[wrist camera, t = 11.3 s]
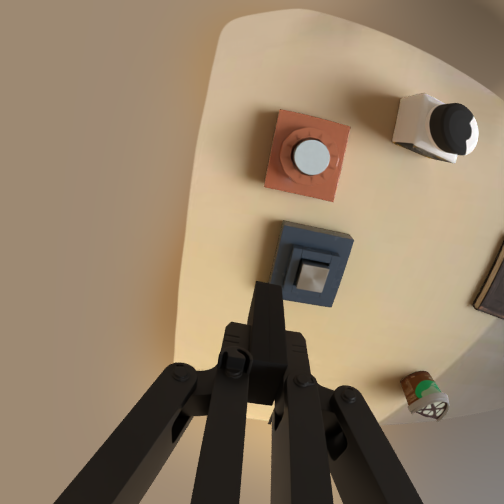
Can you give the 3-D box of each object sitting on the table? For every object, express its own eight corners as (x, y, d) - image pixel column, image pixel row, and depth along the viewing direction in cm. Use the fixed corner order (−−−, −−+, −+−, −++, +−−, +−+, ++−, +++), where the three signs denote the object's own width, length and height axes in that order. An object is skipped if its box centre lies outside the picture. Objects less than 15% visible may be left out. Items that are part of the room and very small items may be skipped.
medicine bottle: (390, 142, 35) (434, 147, 24) (400, 97, 32) (444, 87, 21) (430, 158, 35) (478, 169, 24) (438, 115, 33) (488, 114, 22)
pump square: (301, 258, 38) (303, 264, 37) (327, 263, 38) (329, 269, 37) (295, 282, 40) (296, 288, 38) (319, 286, 40) (321, 293, 38)
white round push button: (296, 136, 32) (298, 136, 30) (329, 144, 32) (333, 144, 30) (289, 168, 33) (291, 170, 31) (322, 176, 33) (325, 178, 31)
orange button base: (278, 111, 35) (280, 107, 30) (344, 127, 35) (354, 126, 30) (264, 183, 38) (263, 189, 34) (328, 197, 39) (336, 205, 34)
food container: (443, 375, 51) (460, 404, 42) (424, 392, 53) (439, 422, 44) (416, 360, 49) (434, 394, 40) (396, 379, 51) (410, 414, 42)
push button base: (282, 220, 40) (284, 228, 36) (349, 234, 40) (357, 244, 37) (266, 288, 44) (266, 302, 41) (328, 299, 45) (333, 313, 41)
